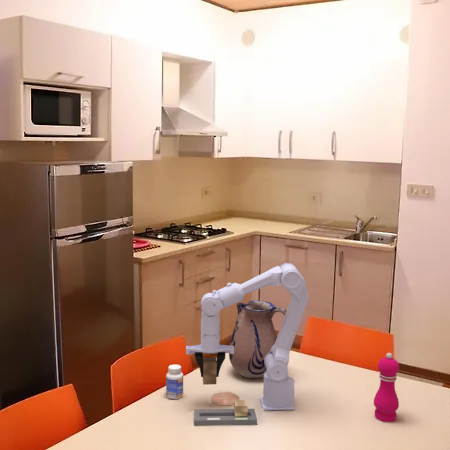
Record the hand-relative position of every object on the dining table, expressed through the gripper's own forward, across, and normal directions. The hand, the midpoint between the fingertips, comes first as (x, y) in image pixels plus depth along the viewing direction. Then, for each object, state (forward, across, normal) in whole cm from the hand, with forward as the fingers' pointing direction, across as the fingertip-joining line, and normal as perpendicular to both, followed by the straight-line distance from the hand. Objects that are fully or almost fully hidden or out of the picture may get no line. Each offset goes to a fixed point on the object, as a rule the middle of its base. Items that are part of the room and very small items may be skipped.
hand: (209, 375), depth 175 cm
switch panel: (+9, -4, +10) cm, 14 cm away
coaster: (+9, -5, -3) cm, 11 cm away
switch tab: (+8, -9, +10) cm, 15 cm away
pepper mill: (+10, -52, +10) cm, 54 cm away
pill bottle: (+10, +11, -6) cm, 16 cm away
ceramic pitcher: (+10, -18, -23) cm, 31 cm away
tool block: (+2, 0, 0) cm, 2 cm away
